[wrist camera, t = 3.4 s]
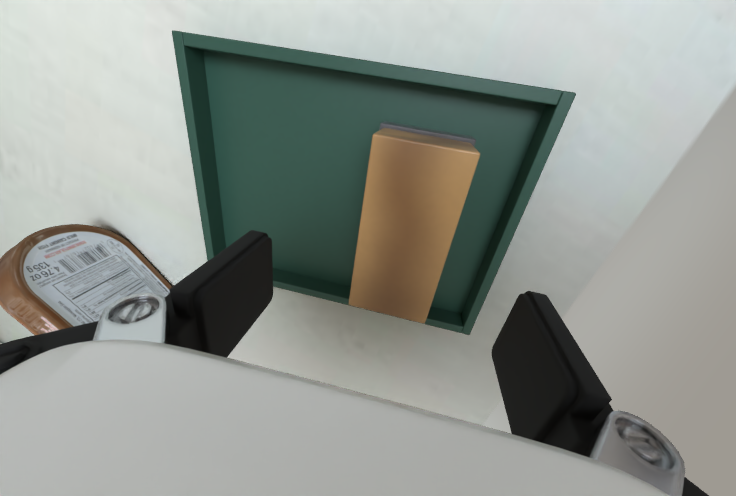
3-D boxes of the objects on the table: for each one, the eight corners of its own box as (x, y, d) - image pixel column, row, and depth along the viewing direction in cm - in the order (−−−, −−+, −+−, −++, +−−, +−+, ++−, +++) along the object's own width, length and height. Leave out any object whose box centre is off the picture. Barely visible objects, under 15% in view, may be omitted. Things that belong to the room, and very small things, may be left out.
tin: (86, 221, 25) (-56, 270, 18) (103, 205, 24) (-43, 251, 17) (203, 339, 30) (129, 418, 22) (222, 331, 28) (150, 411, 21)
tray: (558, 93, 14) (577, 92, 13) (466, 315, 22) (469, 335, 20) (199, 37, 16) (171, 30, 15) (225, 257, 24) (208, 270, 22)
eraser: (472, 136, 16) (488, 149, 11) (428, 282, 20) (427, 327, 16) (384, 120, 16) (368, 127, 12) (361, 266, 21) (344, 307, 17)
